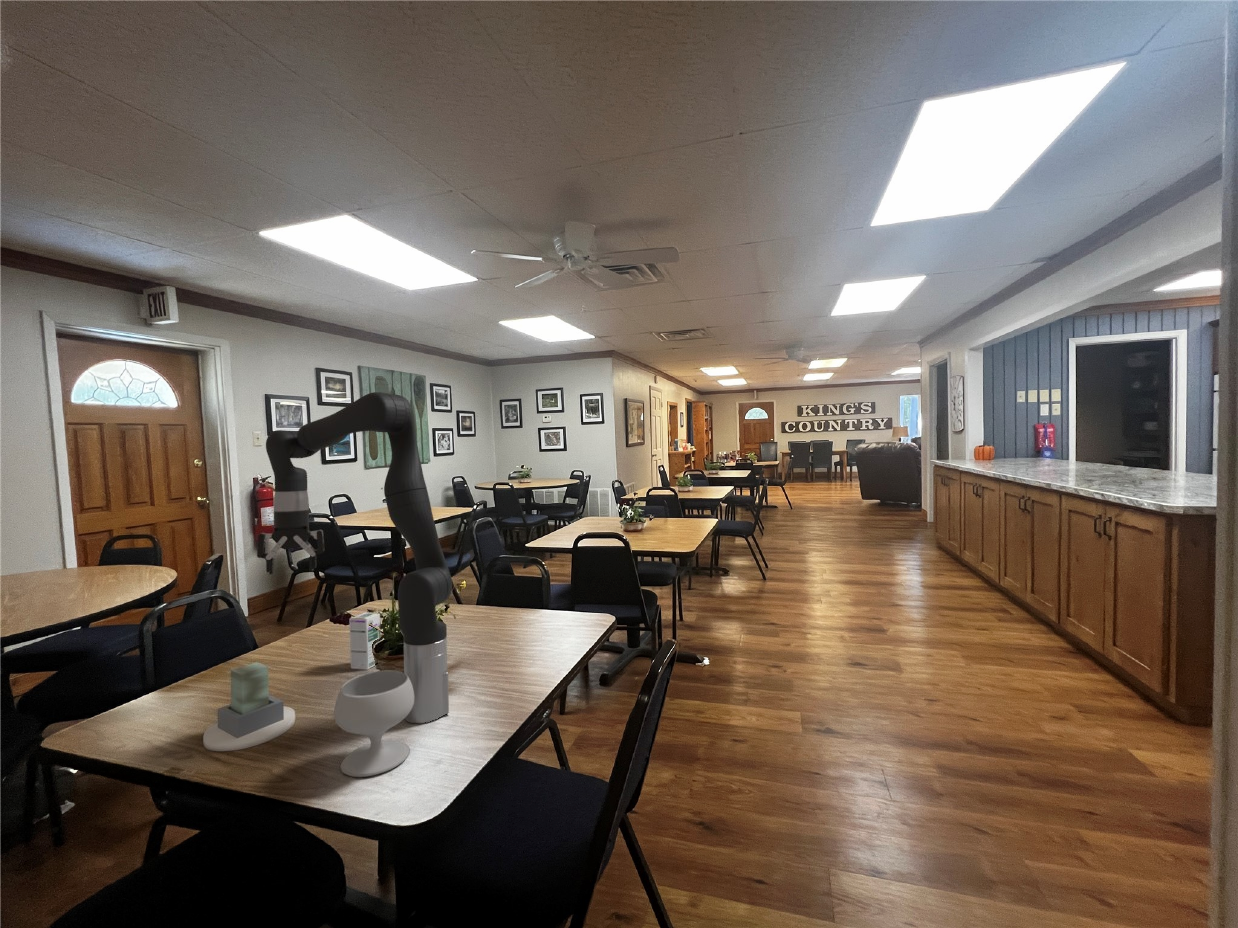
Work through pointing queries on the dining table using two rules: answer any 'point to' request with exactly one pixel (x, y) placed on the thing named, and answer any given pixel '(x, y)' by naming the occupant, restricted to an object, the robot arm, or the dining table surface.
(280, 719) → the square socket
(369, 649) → the syrup box
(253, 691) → the square peg
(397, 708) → the chalice
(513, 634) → the dining table surface
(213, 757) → the dining table surface
